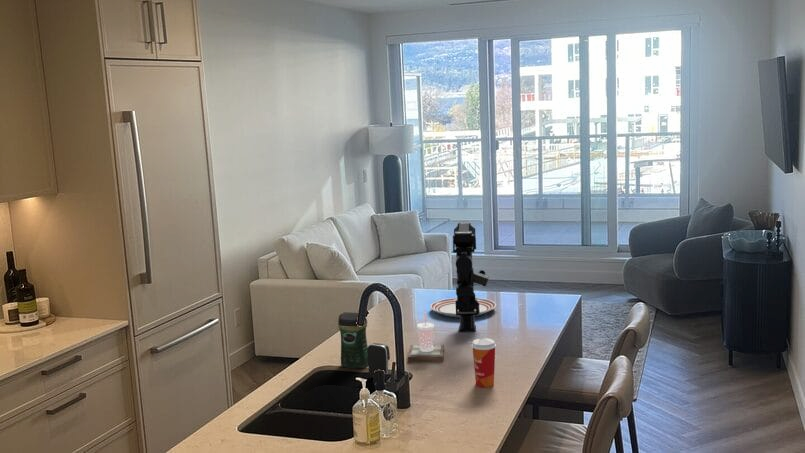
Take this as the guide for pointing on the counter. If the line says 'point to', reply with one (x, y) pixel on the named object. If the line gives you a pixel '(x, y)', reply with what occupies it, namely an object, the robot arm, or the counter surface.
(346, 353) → the coffee jar
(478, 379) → the paper cup
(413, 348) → the plinth
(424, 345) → the beverage cup
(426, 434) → the counter surface
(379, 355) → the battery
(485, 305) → the dinner plate
